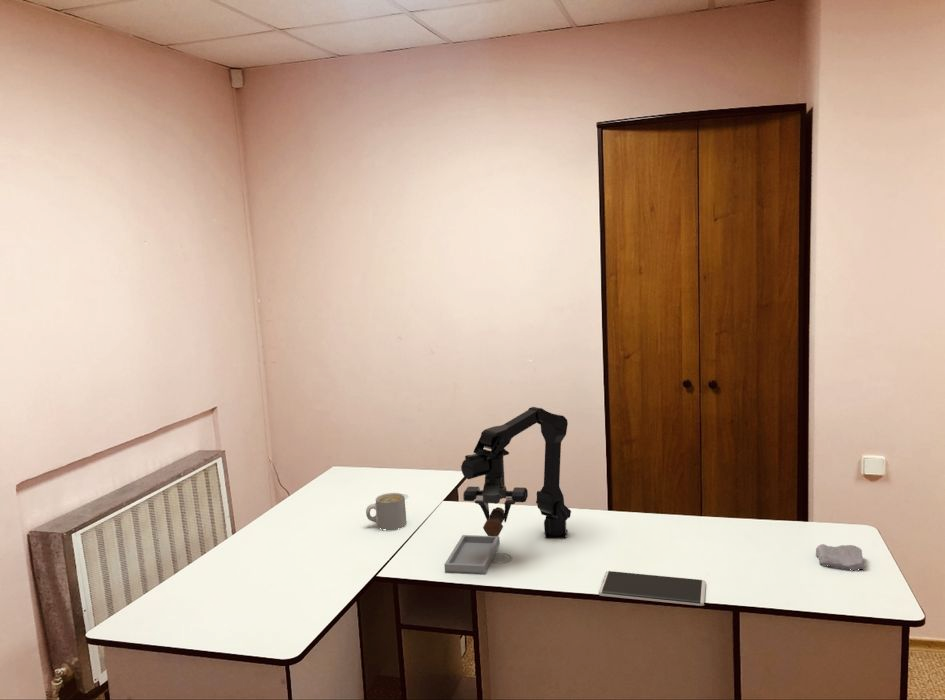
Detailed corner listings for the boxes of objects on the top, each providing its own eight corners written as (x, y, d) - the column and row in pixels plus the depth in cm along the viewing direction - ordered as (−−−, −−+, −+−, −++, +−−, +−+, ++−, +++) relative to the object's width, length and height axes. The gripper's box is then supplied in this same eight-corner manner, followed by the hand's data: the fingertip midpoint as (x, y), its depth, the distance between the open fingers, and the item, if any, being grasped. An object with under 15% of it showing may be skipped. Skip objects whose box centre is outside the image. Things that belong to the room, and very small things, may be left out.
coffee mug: (408, 519, 262) (406, 492, 260) (404, 530, 252) (402, 502, 250) (370, 520, 262) (368, 493, 261) (365, 531, 253) (362, 503, 251)
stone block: (867, 578, 203) (860, 556, 212) (867, 563, 201) (860, 542, 210) (819, 576, 206) (815, 554, 215) (819, 561, 205) (814, 540, 214)
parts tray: (499, 543, 236) (499, 536, 235) (485, 574, 215) (484, 566, 214) (463, 542, 238) (462, 535, 238) (444, 572, 217) (444, 564, 217)
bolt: (502, 523, 231) (495, 540, 216) (487, 515, 231) (480, 532, 217) (510, 507, 230) (504, 524, 215) (496, 499, 230) (489, 515, 216)
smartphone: (704, 608, 189) (704, 602, 189) (598, 597, 198) (598, 591, 198) (705, 585, 201) (705, 579, 201) (605, 575, 210) (605, 569, 210)
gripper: (457, 479, 216) (460, 530, 218) (521, 480, 212) (523, 532, 214) (466, 468, 227) (468, 517, 229) (526, 468, 223) (529, 518, 225)
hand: (496, 521), depth 224 cm, fingers closed on bolt, 5 cm apart
